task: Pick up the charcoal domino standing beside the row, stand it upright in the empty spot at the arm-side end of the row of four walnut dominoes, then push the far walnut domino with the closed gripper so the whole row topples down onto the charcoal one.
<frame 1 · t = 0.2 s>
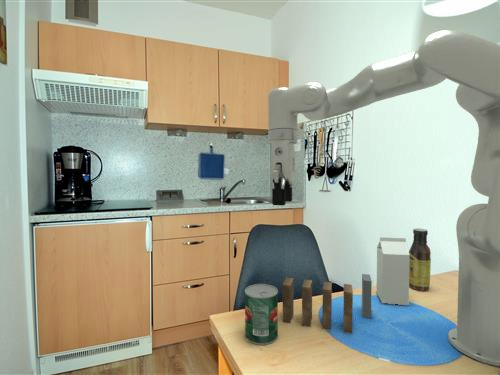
hand: (282, 203, 73), 31 cm above the table, tool pointing down, fingers open, 9 cm apart
walnut domino 2: (307, 320, 73), on the table
charcoal domino: (366, 313, 76), on the table
sauce bottle: (418, 288, 93), on the table
milk carton: (391, 300, 84), on the table
walnut domino 4: (347, 327, 69), on the table
canned tomato: (261, 336, 66), on the table
walnut domino 3: (327, 324, 71), on the table
walnut domino 1: (288, 318, 74), on the table
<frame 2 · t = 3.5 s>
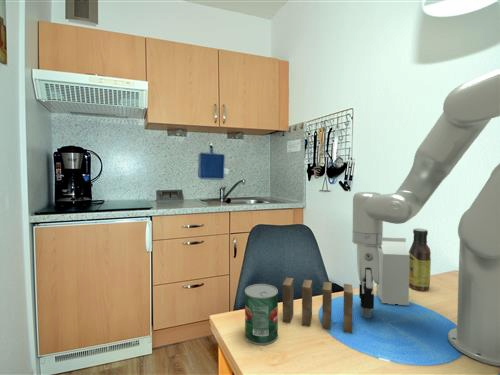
hand: (366, 302, 76), 3 cm above the table, tool pointing down, fingers closed on charcoal domino, 4 cm apart
charcoal domino: (366, 313, 76), on the table, touching gripper
everything else where it was.
when the fingers open (4 cm above the table, at t = 8.6 s): charcoal domino stays where it is, on the table.
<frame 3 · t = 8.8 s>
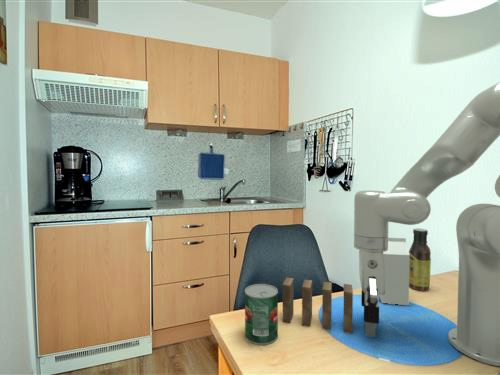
hand: (369, 313, 68), 4 cm above the table, tool pointing down, fingers open, 7 cm apart
charcoal domino: (369, 330, 68), on the table
everything else where it was.
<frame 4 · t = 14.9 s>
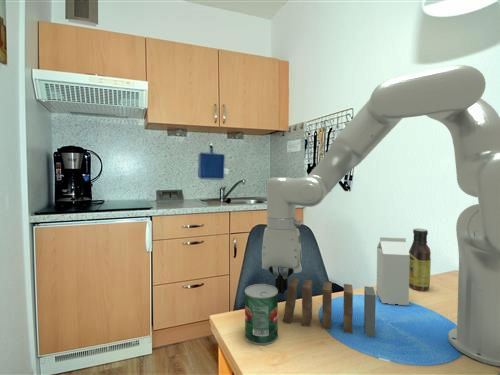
hand: (281, 291, 74), 7 cm above the table, tool pointing down, fingers closed
walnut domino 1: (288, 317, 74), on the table, tilted 9°
everything else where it was.
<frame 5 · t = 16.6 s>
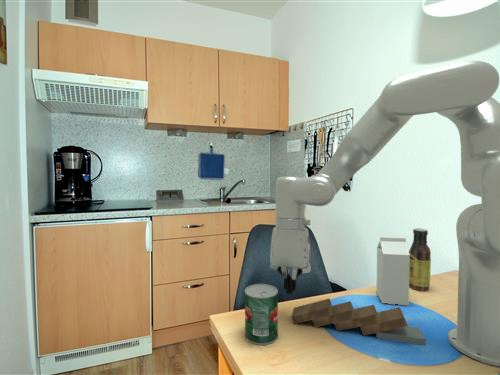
hand: (290, 292, 74), 7 cm above the table, tool pointing down, fingers closed
walnut domino 2: (314, 318, 72), point 1 cm above the table, tilted 68°, touching walnut domino 1
charcoal domino: (375, 330, 67), on the table, tilted 90°, touching walnut domino 4
walnut domino 4: (361, 325, 68), point 1 cm above the table, tilted 67°, touching charcoal domino, walnut domino 3
walnut domino 3: (336, 321, 70), point 1 cm above the table, tilted 68°, touching walnut domino 4
walnut domino 1: (294, 315, 73), point 1 cm above the table, tilted 68°, touching walnut domino 2
everything else where it was.
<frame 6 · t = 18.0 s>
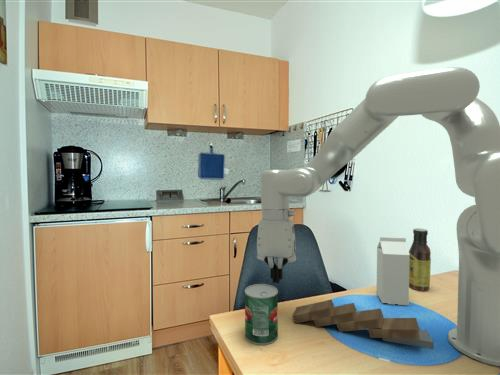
hand: (276, 281, 76), 9 cm above the table, tool pointing down, fingers closed
walnut domino 2: (316, 318, 72), point 1 cm above the table, tilted 68°, touching walnut domino 1, walnut domino 3
charcoal domino: (381, 332, 66), on the table, tilted 90°, touching walnut domino 4
walnut domino 4: (370, 327, 66), point 2 cm above the table, tilted 75°, touching charcoal domino, walnut domino 3
walnut domino 3: (340, 322, 70), point 1 cm above the table, tilted 68°, touching walnut domino 2, walnut domino 4
walnut domino 1: (295, 315, 74), point 1 cm above the table, tilted 68°, touching walnut domino 2
everything else where it was.
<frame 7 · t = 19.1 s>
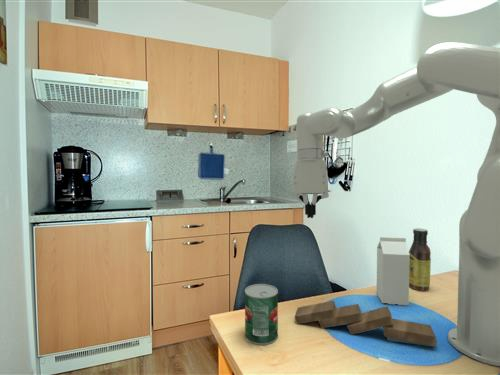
hand: (310, 217, 84), 25 cm above the table, tool pointing down, fingers closed
walnut domino 2: (320, 319, 71), point 1 cm above the table, tilted 71°, touching walnut domino 1, walnut domino 3
walnut domino 4: (383, 326, 66), point 2 cm above the table, tilted 90°, touching charcoal domino, walnut domino 3
walnut domino 3: (349, 325, 69), point 1 cm above the table, tilted 65°, touching walnut domino 2, walnut domino 4
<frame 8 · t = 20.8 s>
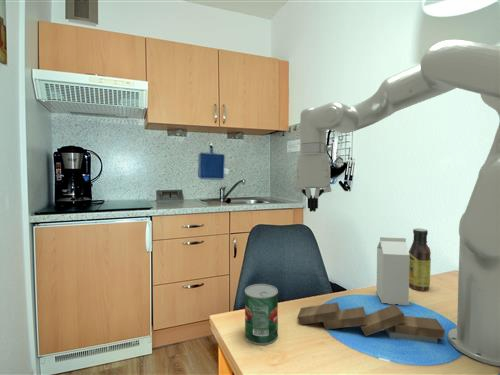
hand: (312, 210, 84), 27 cm above the table, tool pointing down, fingers closed
walnut domino 2: (324, 320, 71), point 1 cm above the table, tilted 74°, touching walnut domino 1, walnut domino 3
charcoal domino: (386, 330, 67), on the table, tilted 90°, touching walnut domino 4
walnut domino 4: (393, 323, 67), point 2 cm above the table, tilted 90°, touching charcoal domino
walnut domino 3: (361, 326, 68), point 1 cm above the table, tilted 66°, touching walnut domino 2
at the end: charcoal domino tilted 90°; charcoal domino inside the target area (3.5 cm from its centre), on the table; walnut domino 4 tilted 90° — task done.
